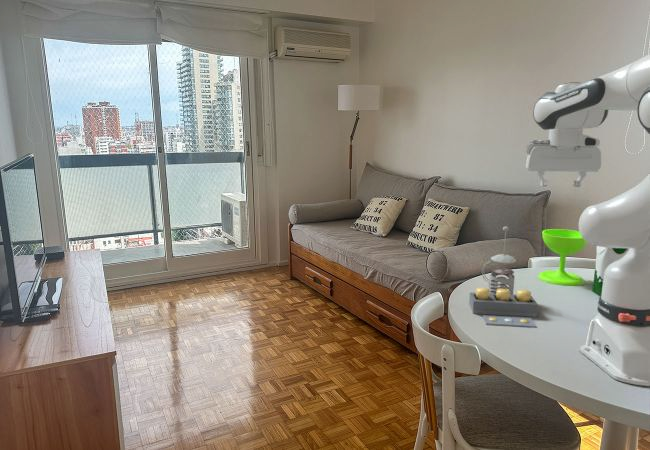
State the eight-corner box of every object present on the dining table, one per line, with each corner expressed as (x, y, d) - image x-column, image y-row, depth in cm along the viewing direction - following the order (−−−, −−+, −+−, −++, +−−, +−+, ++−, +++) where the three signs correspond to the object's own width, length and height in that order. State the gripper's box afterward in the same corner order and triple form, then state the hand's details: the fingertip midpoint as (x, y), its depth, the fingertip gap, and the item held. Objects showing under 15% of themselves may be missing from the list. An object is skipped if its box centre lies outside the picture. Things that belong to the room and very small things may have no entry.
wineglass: (580, 275, 179) (585, 230, 175) (588, 287, 164) (593, 239, 161) (536, 271, 184) (540, 227, 181) (539, 283, 170) (544, 236, 166)
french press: (511, 305, 148) (517, 231, 143) (476, 297, 155) (480, 226, 150) (519, 296, 156) (525, 225, 151) (485, 289, 163) (490, 221, 158)
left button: (490, 301, 142) (490, 292, 142) (476, 300, 143) (477, 291, 142) (487, 296, 146) (488, 288, 146) (474, 296, 147) (475, 287, 146)
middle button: (510, 302, 141) (511, 293, 141) (497, 301, 142) (498, 292, 141) (507, 297, 145) (508, 288, 145) (494, 297, 146) (495, 288, 145)
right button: (531, 303, 140) (532, 294, 140) (518, 302, 141) (518, 293, 140) (528, 298, 144) (528, 289, 144) (514, 298, 145) (515, 289, 144)
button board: (545, 327, 131) (546, 315, 130) (477, 324, 134) (478, 311, 133) (529, 307, 147) (530, 295, 146) (469, 303, 150) (469, 292, 149)
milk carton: (600, 299, 153) (607, 241, 149) (587, 289, 162) (594, 235, 158) (627, 299, 153) (635, 242, 149) (613, 290, 161) (620, 236, 157)
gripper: (530, 140, 133) (526, 187, 136) (606, 140, 130) (600, 188, 133) (525, 140, 139) (521, 184, 142) (597, 139, 136) (591, 185, 139)
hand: (560, 186), depth 137 cm, fingers open, 8 cm apart
